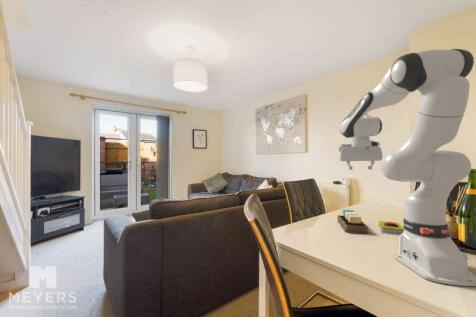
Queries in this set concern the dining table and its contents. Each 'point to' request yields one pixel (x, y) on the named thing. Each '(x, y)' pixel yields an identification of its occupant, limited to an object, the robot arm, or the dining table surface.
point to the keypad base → (352, 226)
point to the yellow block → (354, 219)
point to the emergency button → (391, 228)
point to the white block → (349, 214)
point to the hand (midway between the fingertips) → (360, 169)
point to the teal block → (346, 211)
